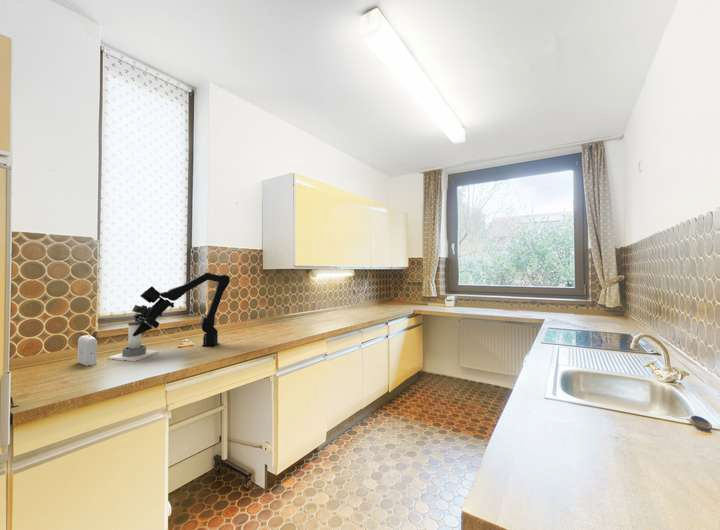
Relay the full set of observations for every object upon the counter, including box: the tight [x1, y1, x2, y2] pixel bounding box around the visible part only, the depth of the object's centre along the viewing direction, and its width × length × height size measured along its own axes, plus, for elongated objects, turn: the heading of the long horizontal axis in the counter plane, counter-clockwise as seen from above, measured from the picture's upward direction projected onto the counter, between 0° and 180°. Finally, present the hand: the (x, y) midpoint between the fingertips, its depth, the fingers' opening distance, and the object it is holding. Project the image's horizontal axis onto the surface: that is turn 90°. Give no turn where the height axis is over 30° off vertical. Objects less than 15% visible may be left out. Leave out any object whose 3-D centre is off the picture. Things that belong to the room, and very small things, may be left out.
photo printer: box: [77, 334, 98, 367], centre depth 140 cm, size 10×4×12 cm, turn 60°
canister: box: [127, 320, 142, 350], centre depth 152 cm, size 5×5×12 cm
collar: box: [107, 344, 160, 362], centre depth 152 cm, size 14×14×4 cm
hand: (131, 334), depth 151 cm, fingers closed on canister, 5 cm apart
